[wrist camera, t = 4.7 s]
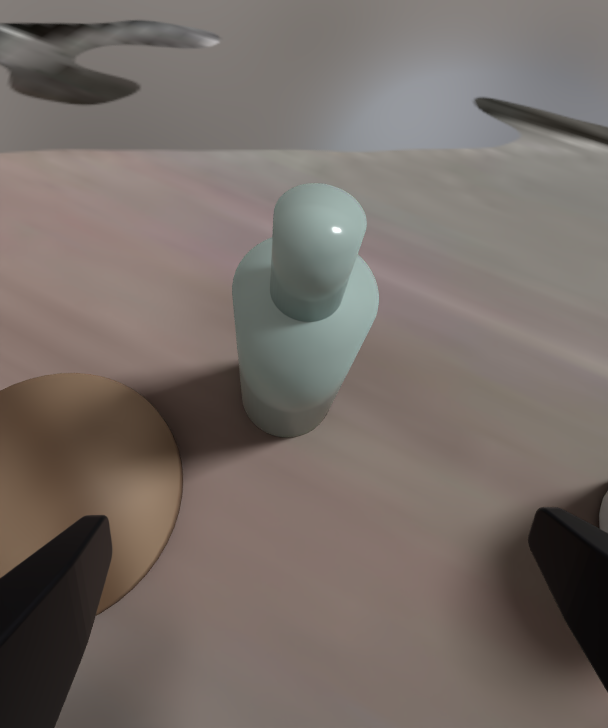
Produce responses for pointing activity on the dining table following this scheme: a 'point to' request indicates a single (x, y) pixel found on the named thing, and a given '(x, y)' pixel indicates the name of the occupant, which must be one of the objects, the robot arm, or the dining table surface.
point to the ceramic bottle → (302, 309)
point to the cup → (604, 514)
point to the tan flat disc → (86, 472)
